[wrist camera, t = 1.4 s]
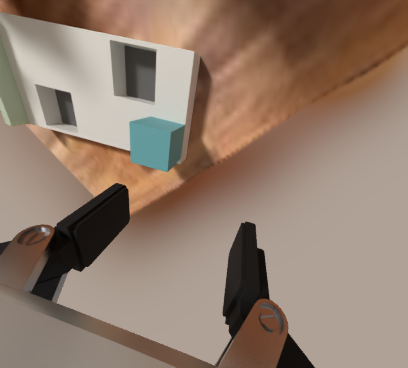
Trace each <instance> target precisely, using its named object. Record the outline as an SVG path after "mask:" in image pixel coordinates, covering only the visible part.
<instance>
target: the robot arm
mask: <svg viewBox="0 0 408 368" xmlns="http://www.w3.org/2000/svg"><path fill="white" fill-rule="evenodd" d="M129 220H130V213H129V194H128V189H127V188H126V186H125V185H122V184H119V183H115V184H114V185H112V186H111V187H109V188H108V189H106V190H105V191H104V192H102V193H101V194H99V195H98V196H96V197H95V198H93V199H92V200H90V201H89V202H88V203H86V204H85V205H83V206H82V207H80V208H79V209H78V210H76V211H75V212H73V213H72V214H70V215H69V216H67V217H66V218H64V219H63V220H61V221H60V222H59V223H57V226H56V227H54V228H53V227H52V226H50V225H36V226H32V227H29V228H27V229H25V230H23V231H21V232H20V233H18V234H17V235H16V236H15V237H14V238H13V240H12V241H8V242H4V243H0V368H315V367H314V366H313V365H312V363H311V362H310V361H309V360H308V358H307V357H306V355H305V354H304V353H303V352H302V350H301V349H300V348H299V346H298V345H297V344H296V343H295V341H294V340H293V339H292V337H291V336H290V335H289V333H288V322H287V319H286V317H285V314H284V313H283V311H282V310H281V308H279V306H278V305H276V304H275V303H274V302H273V301H271V300H270V299H269V290H268V281H267V272H266V263H265V254H264V251H263V250H262V249H259V248H257V239H256V226H255V224H253V223H250V222H245V223H241V226H240V228H239V230H238V233H237V235H236V238H235V240H234V242H233V245H232V247H231V250H230V253H229V258H228V268H227V278H226V288H225V296H224V306H223V316H225V317H226V321H225V324H227V325H229V333H230V335H231V337H232V338H231V339H230V341H229V342H228V344H227V346H226V347H225V349H224V351H223V352H222V354H221V356H220V358H219V359H218V361H217V363H216V364H215V366H214V365H212V364H209V363H207V362H204V361H202V360H200V359H197V358H195V357H192V356H190V355H188V354H185V353H183V352H180V351H178V350H175V349H172V348H170V347H168V346H165V345H163V344H160V343H157V342H155V341H152V340H149V339H147V338H145V337H142V336H140V335H137V334H135V333H132V332H129V331H127V330H124V329H122V328H119V327H117V326H114V325H111V324H109V323H106V322H103V321H101V320H98V319H96V318H93V317H91V316H88V315H86V314H83V313H80V312H78V311H75V310H73V309H70V308H67V307H65V306H62V305H60V304H57V300H58V297H59V295H60V292H61V290H62V287H63V284H64V282H65V279H66V276H67V274H68V272H69V271H70V270H71V269H72V268H73V269H75V270H77V271H80V272H81V271H82V270H83V269H84V268H85V267H88V266H90V265H91V264H92V262H93V261H94V260H95V259H96V258H97V257H98V256H99V255H100V254H101V253H102V251H103V250H104V249H105V248H106V247H107V246H108V245H109V244H110V243H111V242H112V241H113V239H114V238H115V237H116V236H117V235H118V234H119V232H121V230H122V229H123V228H124V227H125V226H126V225H127V224H128V223H129Z"/></svg>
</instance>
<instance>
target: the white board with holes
mask: <svg viewBox="0 0 408 368" xmlns="http://www.w3.org/2000/svg"><path fill="white" fill-rule="evenodd" d="M200 58H201V56H199V55H198V54H197V53H196V52H194V51H189V50H185V49H180V48H175V47H170V46H165V45H160V44H155V43H150V42H145V41H140V40H135V39H130V38H125V37H120V36H116V35H111V34H106V33H101V32H96V31H91V30H86V29H81V28H76V27H71V26H66V25H61V24H56V23H51V22H47V21H42V20H37V19H32V18H27V17H22V16H17V15H12V14H7V13H2V12H0V110H1V112H2V115H3V117H4V120H5V122H6V125H10V126H15V125H22V124H33V125H37V126H40V127H44V128H48V129H51V130H55V131H59V132H62V133H66V134H70V135H73V136H77V137H81V138H84V139H88V140H92V141H95V142H99V143H103V144H106V145H110V146H114V147H117V148H121V149H125V150H128V151H130V127H129V122H130V121H134V120H138V119H142V118H146V117H150V116H151V117H155V118H160V119H164V120H168V121H172V122H176V123H180V124H184V125H185V130H184V138H183V146H182V154H181V159H180V160H179V161H178V162H177V163H176V164H179V165H180V164H181V163H182V162H183V161H184V160H185V159H186V156H187V149H188V142H189V135H190V128H191V121H192V114H193V107H194V100H195V93H196V86H197V79H198V72H199V65H200Z"/></svg>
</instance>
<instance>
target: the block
mask: <svg viewBox="0 0 408 368" xmlns="http://www.w3.org/2000/svg"><path fill="white" fill-rule="evenodd" d="M129 127H130V153H131V162H133V163H136V164H140V165H144V166H147V167H151V168H154V169H158V170H161V171H165V172H168V171H169V170H170V169H171V168H172V167H173V166H174V165H175V164H176V163H177V162H178V161H179V160H180V159H181V154H182V146H183V138H184V130H185V125H184V124H180V123H176V122H172V121H168V120H164V119H160V118H155V117H151V116H150V117H146V118H142V119H138V120H134V121H130V122H129Z"/></svg>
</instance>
